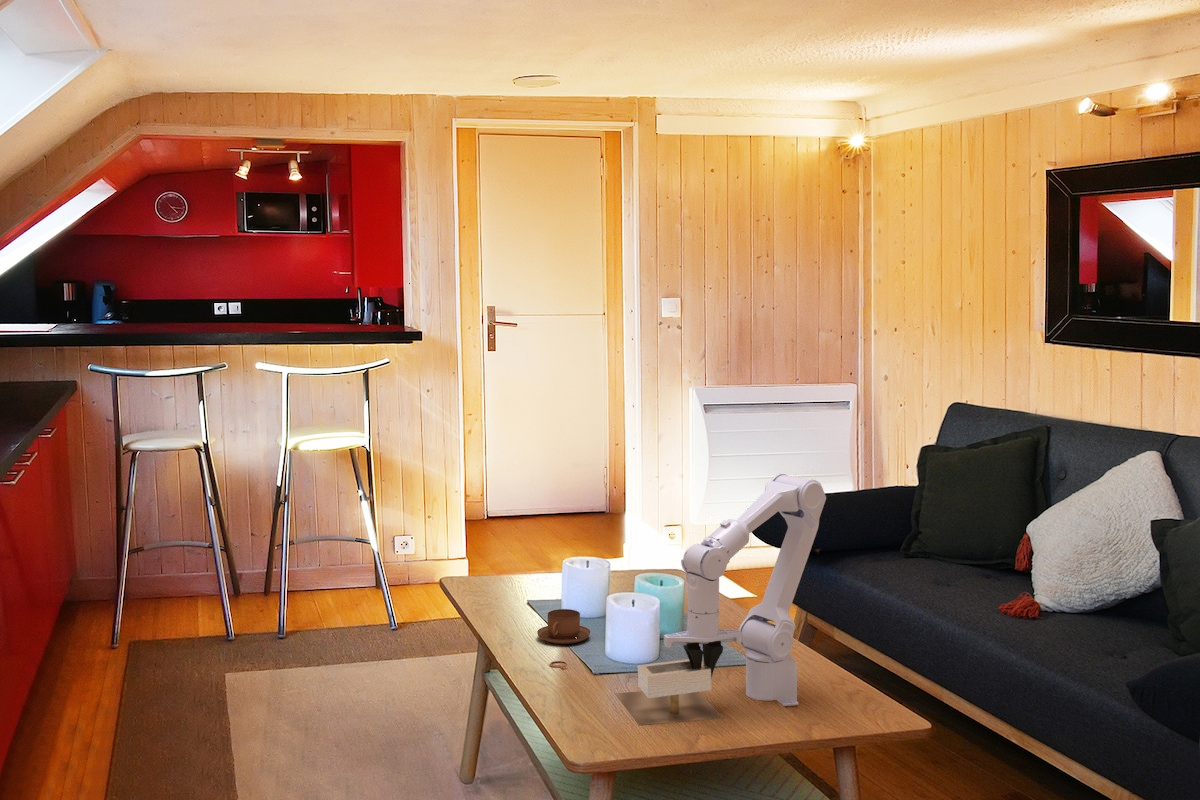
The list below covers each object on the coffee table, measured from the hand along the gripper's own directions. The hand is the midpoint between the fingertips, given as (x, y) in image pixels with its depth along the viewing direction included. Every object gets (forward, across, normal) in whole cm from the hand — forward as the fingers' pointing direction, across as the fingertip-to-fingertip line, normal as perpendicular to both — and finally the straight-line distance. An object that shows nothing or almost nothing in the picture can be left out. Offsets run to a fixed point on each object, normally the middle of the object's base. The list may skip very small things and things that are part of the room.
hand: (702, 681), depth 216 cm
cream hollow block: (+1, +5, 0) cm, 5 cm away
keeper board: (+7, +5, -4) cm, 10 cm away
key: (+8, +17, -30) cm, 36 cm away
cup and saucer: (+7, +14, -54) cm, 56 cm away
